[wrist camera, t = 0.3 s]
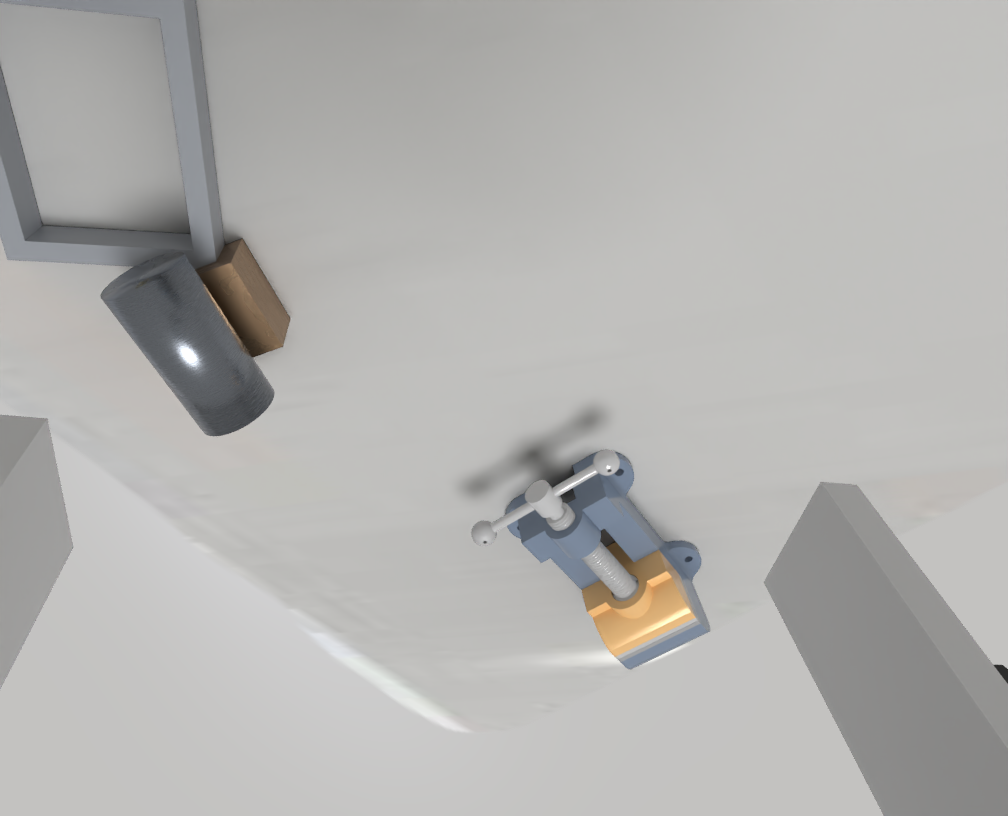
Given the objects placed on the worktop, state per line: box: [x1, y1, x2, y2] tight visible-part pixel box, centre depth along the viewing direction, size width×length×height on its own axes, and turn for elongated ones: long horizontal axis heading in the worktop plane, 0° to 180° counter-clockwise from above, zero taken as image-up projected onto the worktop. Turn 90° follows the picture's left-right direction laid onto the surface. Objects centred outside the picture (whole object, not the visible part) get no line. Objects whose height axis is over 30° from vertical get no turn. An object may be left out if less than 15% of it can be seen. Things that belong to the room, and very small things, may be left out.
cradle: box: [0, 0, 225, 269], centre depth 32 cm, size 12×10×2 cm
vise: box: [471, 449, 710, 669], centre depth 49 cm, size 18×10×7 cm, turn 34°
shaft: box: [101, 239, 290, 436], centre depth 36 cm, size 8×6×7 cm
